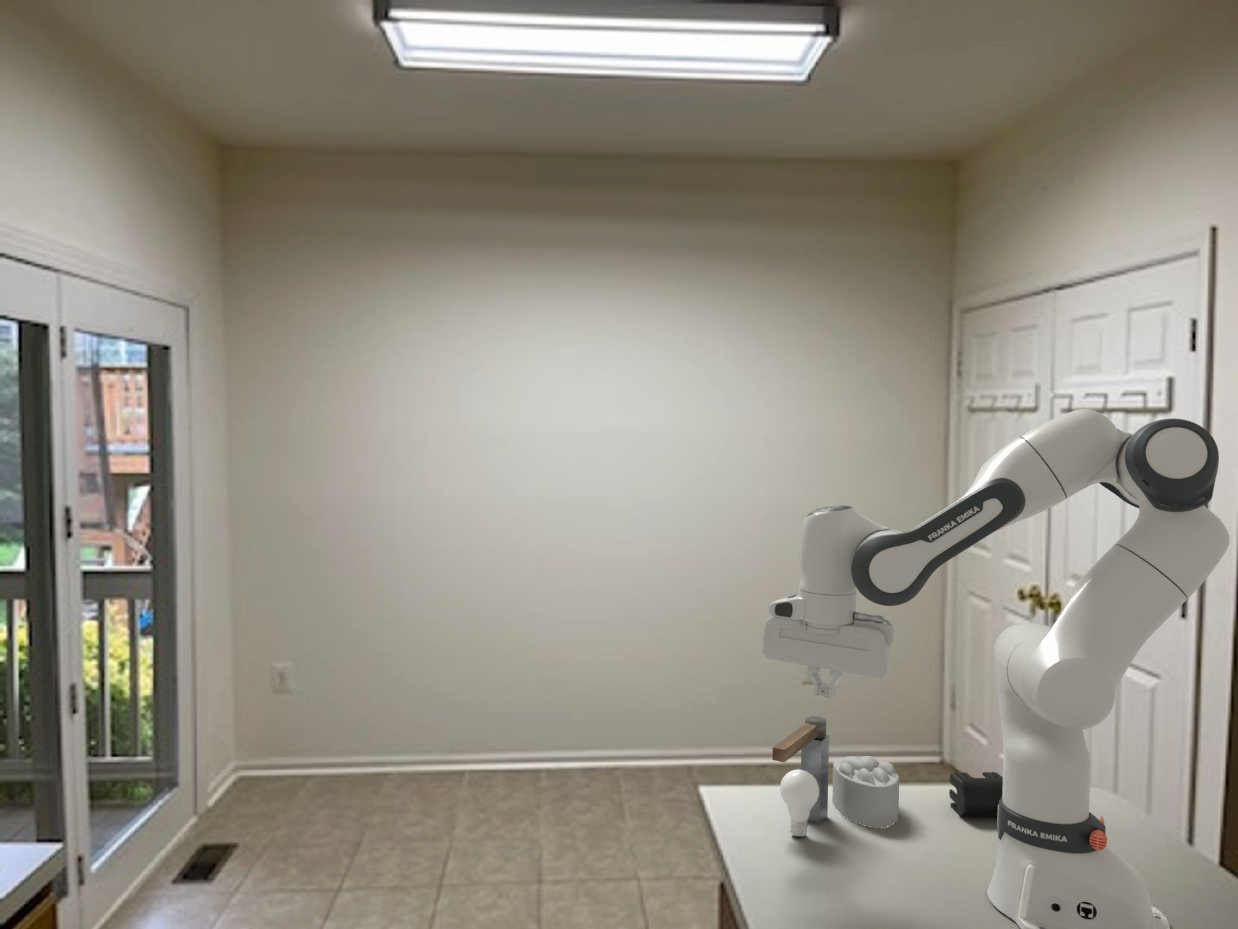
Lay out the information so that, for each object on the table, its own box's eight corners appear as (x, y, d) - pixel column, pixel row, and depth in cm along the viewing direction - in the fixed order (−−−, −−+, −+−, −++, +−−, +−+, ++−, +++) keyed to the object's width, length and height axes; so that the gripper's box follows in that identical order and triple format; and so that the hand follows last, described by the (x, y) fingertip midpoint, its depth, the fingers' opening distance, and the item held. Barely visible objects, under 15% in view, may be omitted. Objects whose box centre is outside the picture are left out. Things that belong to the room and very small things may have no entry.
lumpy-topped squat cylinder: (881, 796, 158) (882, 750, 158) (910, 828, 145) (911, 777, 145) (826, 797, 157) (827, 751, 157) (851, 829, 144) (852, 779, 144)
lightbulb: (815, 828, 144) (816, 764, 144) (820, 846, 138) (822, 779, 138) (777, 826, 145) (778, 762, 145) (781, 844, 139) (782, 777, 138)
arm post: (827, 817, 149) (829, 735, 148) (820, 824, 146) (821, 741, 145) (807, 811, 151) (809, 731, 150) (800, 819, 148) (801, 737, 147)
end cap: (964, 824, 147) (965, 785, 147) (946, 806, 154) (947, 769, 154) (1020, 823, 147) (1021, 784, 147) (1000, 805, 154) (1001, 768, 154)
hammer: (829, 733, 148) (829, 719, 148) (789, 765, 134) (789, 749, 134) (809, 729, 150) (809, 715, 150) (767, 760, 136) (768, 744, 136)
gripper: (899, 614, 131) (897, 703, 131) (775, 597, 142) (773, 680, 142) (887, 620, 125) (884, 713, 126) (759, 603, 137) (757, 689, 137)
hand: (824, 695), depth 134 cm, fingers closed
